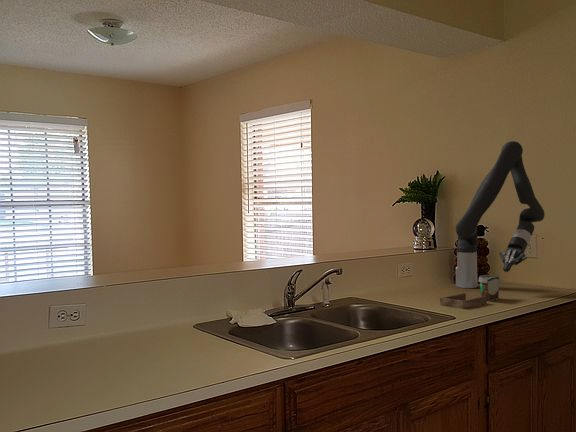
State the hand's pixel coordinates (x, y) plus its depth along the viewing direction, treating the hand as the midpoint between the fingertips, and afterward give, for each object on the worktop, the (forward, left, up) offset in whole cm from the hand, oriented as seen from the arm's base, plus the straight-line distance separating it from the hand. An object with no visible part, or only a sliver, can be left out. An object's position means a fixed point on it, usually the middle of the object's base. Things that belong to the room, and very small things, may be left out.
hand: (505, 270), depth 238 cm
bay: (0, -30, -11) cm, 32 cm away
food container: (0, -14, -11) cm, 18 cm away
